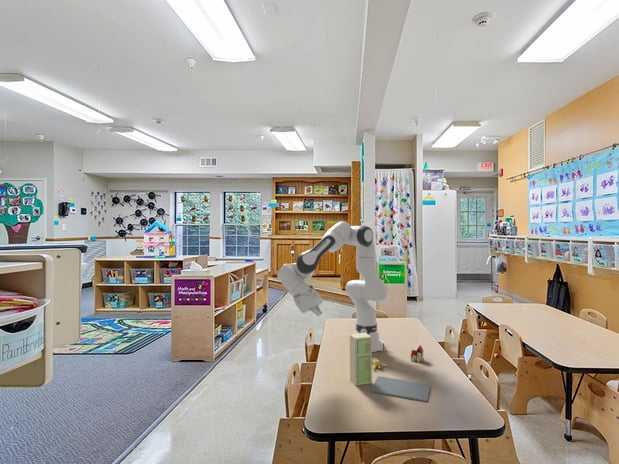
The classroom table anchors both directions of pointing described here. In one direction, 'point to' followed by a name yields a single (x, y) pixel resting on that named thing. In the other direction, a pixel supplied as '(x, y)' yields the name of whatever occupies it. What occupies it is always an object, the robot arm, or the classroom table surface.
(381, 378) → the mat
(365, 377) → the toy refrigerator
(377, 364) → the character toy
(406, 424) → the classroom table surface
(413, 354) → the toy house
